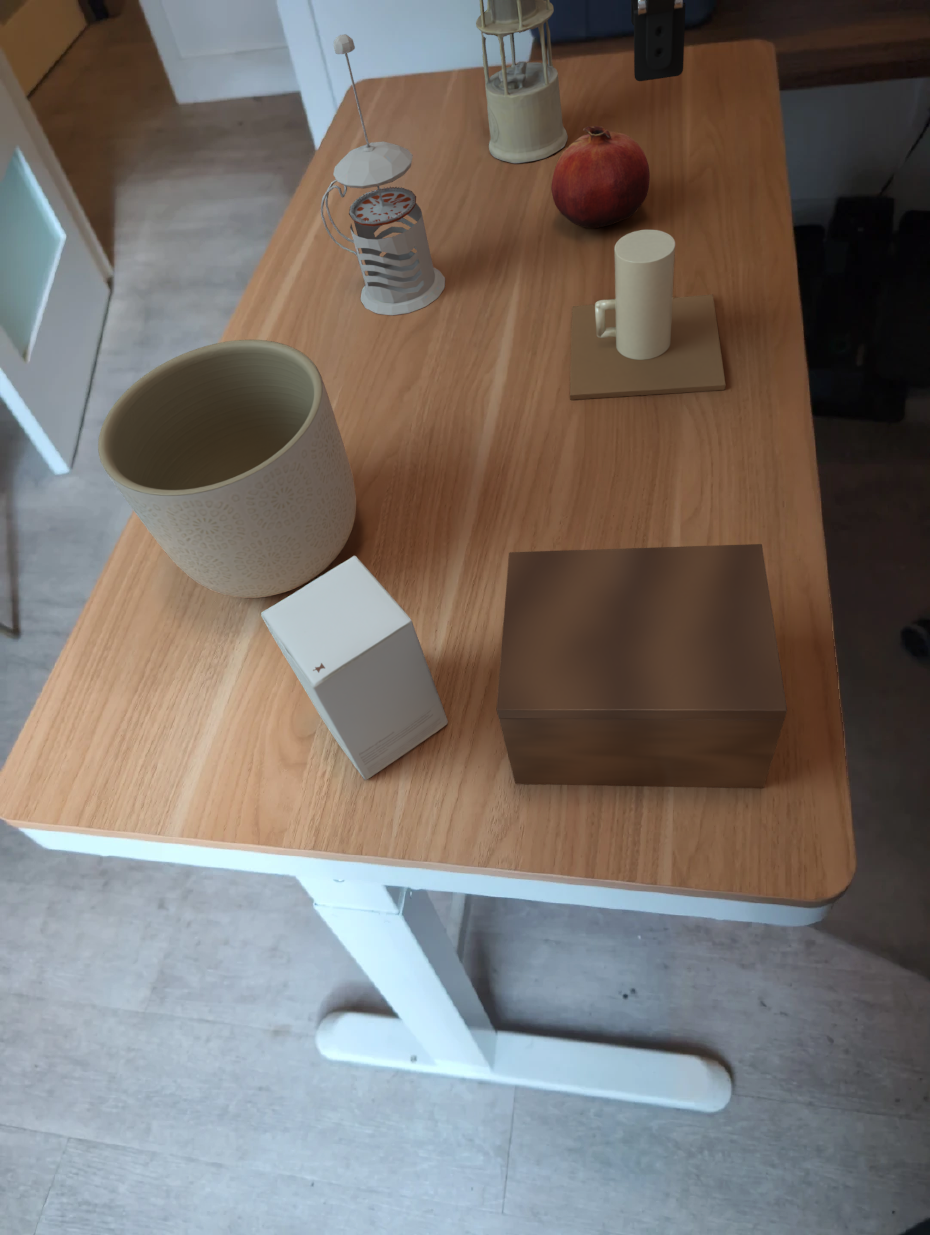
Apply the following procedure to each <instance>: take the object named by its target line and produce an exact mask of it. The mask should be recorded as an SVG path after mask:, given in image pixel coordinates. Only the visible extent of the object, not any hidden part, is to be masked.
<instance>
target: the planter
mask: <svg viewBox="0 0 930 1235" xmlns="http://www.w3.org/2000/svg"><path fill="white" fill-rule="evenodd" d="M97 441H98V442H97V452H98V457H99V461H100V463H101V466H102V468H103V470H104V472H105V473H106V475H107V476H108V477H109V479H110V480H111V482H112V483H113V485H114V487H116V489H117V491H118V492H119V493H120V494H121V496H122V498H124V500H125V501H126V503H127V504H128V506H130V508H131V509H132V510H133V512H134V513H135V514H136V516H137V518H139V520H140V521H141V522H142V524H143V525H144V527H145V528H146V529H147V531H148V532H149V534H150V535H151V536H152V538H153V539H154V540H155V541H156V543H157V544H158V545H159V546H160V548H161V549H162V550H163V551H164V553H165V554H166V555H167V556H168V557H169V559H170V560H171V561H172V562H173V563H174V564H175V565H176V566H177V567H178V568H179V569H180V570H181V571H182V572H183V573H184V574H185V575H187V576H188V577H189V578H190V579H191V580H193V581H194V582H195V583H197V584H199V585H200V586H201V587H204V588H205V589H207V590H211V591H212V592H215V593H218V594H220V595H224V596H230V597H234V598H240V599H241V598H245V599H253V598H254V599H257V598H266V597H272V596H276V595H280V594H283V593H286V592H289V591H292V590H294V589H297V588H299V587H300V586H303V585H305V584H306V583H308V582H309V581H310V582H311V580H314V579H315V578H316V577H318V575H320V574H321V573H322V572H324V571H325V570H326V569H327V568H328V567H329V566H330V565H331V564H332V563H333V562H334V561H335V559H336V558H337V557H338V556H339V555H340V553H341V552H342V550H343V549H344V547H345V546H346V543H347V541H349V538H350V536H351V534H352V530H353V527H354V523H355V520H356V511H357V495H356V494H357V493H356V488H355V487H356V486H355V482H354V476H353V475H354V474H353V471H352V467H351V464H350V460H349V456H348V454H347V453H348V452H347V450H346V446H345V443H344V440H343V436H342V434H341V431H340V428H339V426H338V422H337V419H336V416H335V413H334V409H333V406H332V403H331V400H330V397H329V393H328V391H327V388H326V384H325V382H324V380H323V377H322V375H321V372H320V370H319V369H318V367H317V366H316V364H315V363H314V361H313V360H312V359H311V358H310V357H309V356H307V354H305V353H304V352H302V351H300V350H299V349H297V348H295V347H293V346H290V345H288V344H284V343H282V342H279V341H278V342H277V341H274V340H273V341H272V340H265V339H237V340H236V339H235V340H228V341H222V342H217V343H212V344H208V345H204V346H201V347H197V348H194V349H191V350H189V351H186V352H184V353H182V354H180V355H178V356H175V357H173V358H171V359H169V360H167V361H165V362H163V363H161V364H160V365H158V366H156V367H154V368H153V369H152V370H150V371H148V372H147V373H146V374H144V375H143V376H142V377H140V378H139V379H138V380H136V381H135V382H134V383H133V384H132V385H130V387H128V388H127V390H125V392H124V393H122V395H121V396H120V397H119V398H118V399H117V400H116V401H115V403H114V404H113V406H112V407H111V408H110V410H109V411H108V413H107V415H106V416H105V419H104V421H103V423H102V425H101V427H100V431H99V435H98V440H97Z"/></svg>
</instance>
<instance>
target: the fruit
mask: <svg viewBox="0 0 930 1235" xmlns="http://www.w3.org/2000/svg"><path fill="white" fill-rule="evenodd" d="M582 131H584V132H586V133H588V134H583V135H581V136H580V137H578V138H577V139H575V140H574V141H573V142H572V143H570V144H569V145H568V146H567V147H566V148H565V149H564V150H563V152H561V154H560V155H559V158H558V159H557V162H556V165H555V167H554V169H553V170H554V171H553V174H552V178H551V179H552V180H551V186H550V191H551V194H552V199H553V202H554V206H555V207H556V209H557V210H558V212H559V213H560V214H561V215H562V216H564V217H565V218H566V219H567V220H569V221H570V222H571V223H572V224H575V225H577V226H581V227H584V228H590V229H591V228H592V229H597V228H602V227H606V226H611V225H614V224H616V223H618V222H620V221H623V220H626V219H628V218H631V217H632V216H634V214H635V213H637V211H638V210H639V209H640V207H641V206H642V204H643V203H644V202H645V201H646V199H647V197H648V193H649V189H650V182H651V181H650V180H651V174H650V166H649V161H648V159H647V156H646V153H645V152H644V150H643V149H642V147H641V146H640V144H639V143H638V142H637V141H636V140H634V139H633V138H632V137H631V136H629V135H628V134H626V133H622V132H617V131H609V130H608V129H606V128H604V127H603V126H599V125H593V126H589V125H588V126H586V127H584V128H583V130H582Z"/></svg>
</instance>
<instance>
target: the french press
mask: <svg viewBox="0 0 930 1235" xmlns="http://www.w3.org/2000/svg"><path fill="white" fill-rule="evenodd" d="M354 42H355V41H354V39H353V38H352V37H351V36H350V35H348V34H347V33H345V34H339V35H338V36H336V37H335V39H334V40H333V44H332V46H333V51H334V53H335V54H336V55H344V56H345V60H346V64H347V69H348V72H349V76H350V80H351V85H352V88H353V94H354V97H355V102H356V105H357V111H358V114H359V117H360V122H361V126H362V130H363V134H364V139H365V142H366V144H363V145H361V146H358V147H356V148H354V149H351V150H350V151H349V152H348V153H346V155H344V157H343V158H342V159H341V160H340V161H339V162H338V163H337V164H335V166H334V168H333V174H332V175H333V177H334V178H335V179H334V180H332V181H331V183H330V184H329V185H328V188H327V189H326V191H325V193H324V194H323V196H322V198H321V202H320V203H321V204H320V217H321V220H322V222H323V225H324V229H325V231H326V232H327V234H328V236H329V237H330V238H331V239H332V241H333V242H334V243H335V244H336V245H338V246H339V247H340V248H341V249H342V250H344V251H347V252H350V253H351V254H354V255H355V256H356V258H357V261H358V266H359V268H360V271H361V276H362V278H363V282H364V286H363V288H362V289H361V291H360V292H361V294H360V302H361V303H362V305H363V306H364V308H365V309H366V310H368V311H370V312H373V313H375V314H377V315H386V316H396V315H405V314H410V313H412V312H416V311H419V310H420V309H424V308H425V307H428V306H429V305H430V304H432V303H433V302H434V301H436V300H437V299H438V298H439V297H440V295H441V294H442V293H443V291H444V289H445V288H446V286H445V285H446V277H445V276H444V275H443V273H442V272H441V270H439V269H438V268H436V267H434V264H433V259H432V254H431V251H430V250H431V249H430V245H429V240H428V236H427V231H426V226H425V221H424V216H423V212H422V209H421V207H420V206H419V204H418V203H417V196H416V194H415V193H414V192H413V191H412V190H411V189H407V188H405V187H402V186H398V187H397V186H389V187H388V186H386V187H383V188H382V187H381V186H384V185H387V184H391V183H393V182H395V181H396V180H398V179H400V178H401V177H403V176H405V175H406V173H407V172H408V171H409V170H410V169H411V167H412V162H413V158H414V157H413V156H414V155H413V154H412V153H411V151H410V150H409V148H406V147H404V146H401V145H399V144H396V143H391V142H388V141H373V142H369V139H368V135H367V130H366V125H365V122H364V118H363V114H362V108H361V104H360V101H359V97H358V96H359V95H358V92H357V89H356V84H355V80H354V77H353V72H352V68H351V63H350V59H349V55H348V54H349V53H351V52H353V51H354V50H355V49H356V46H355V43H354ZM336 183H339V184H340V185H342V186H343V187H344V190H343V191H342V188H341V187H340V186H339V185H335V184H336ZM376 187H377V188H376ZM348 188H349V189H370V188H376V189H374V190H371V191H368V192H365V193H363V194H362V195H360V196H358V198H356V199H355V200H354V201H352V203H351V205H349V209H348V215H349V217H350V218H351V220H352V221H353V224H354V227H355V231H356V234H355V232H354V229H353V228H354V227H353V224H352V223H350V225H349V230H350V234H351V237H352V239H351V238H349V237H348V236H346V235H345V234H344V233H342V232H341V230H340V229H339V228H338V226H336V223H335V222H334V220H333V218H332V215H331V212H330V207H329V194H330V192H331V191H332V190H334V189H337V191H338V193H339V196H340V197H341V198H345V197H346V194H347V191H348ZM324 206H325V209H326V212H327V217H328V219H329V221H330V223H331V224H332V226H333V228H334V229H335V231H336V232H337V233H338V235H339V236H341V237H342V238H343V239H344V240H346V241H347V242H350V243H352V244H354V248H355V250H356V251H354V250H352V249H350V248H348V247H346V246H345V245H343V244H342V243H341V242H338V241H337V239H336V238H335V237H334V236H333V234H332V233H331V231H330V229H329V227H328V225H327V222H326V218H325V216H324ZM406 216H408V217H409V218H411V219H413V220H414V221H415V223H413V222H411V221H409V220H408V219H406V218H405V217H406ZM393 223H401V224H404V225H406V226H407V227H409V228H408V229H407V228H405V227H403V226H390V227H387V228H386V229H384V230H382V231H380V233H378V234H377V235H376V236H375V233H376V232H377V231H378V230H379V229H380V227H382V226H386V225H391V224H393ZM391 234H396V235H393V236H389V235H391ZM387 236H388V237H387ZM413 250H416V252H414V251H413ZM360 251H361V252H360ZM382 253H385V254H384V255H383V256H381V254H382ZM363 262H364V264H363ZM366 272H367V274H366Z"/></svg>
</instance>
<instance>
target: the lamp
mask: <svg viewBox="0 0 930 1235" xmlns="http://www.w3.org/2000/svg"><path fill="white" fill-rule="evenodd" d="M486 3H487V4H486V10H485V6H484V5H485V4H484V0H479V10H480V15H479V16H478V17H477V19H476V21H475V27H476V28H477V30H479V31H480V34H481V50H482V65H483V73H484V82H485V85H484V86H485V96H486V104H487V106H486V110H487V119H488V128H489V137H490V139H489V142H488V150H489V153H490V155H491V156H492V157H493V158H494V159H497V160H500V161H502V162H508V163H511V164H522V163H529V162H535V161H539V160H543V159H547V158H548V157H550V156H552V155H553V154H554V155H555V153H557V152H559V151H561V149H563V148H564V147H566V144H567V142H568V138H569V137H568V132H567V130H566V128H565V127H564V124H563V113H562V104H561V91H560V81H559V72H558V70H557V68H555V67H554V65H553V54H552V52H553V51H552V43H551V30H550V26H549V19H550V18H551V17H552V15H553V14H554V12H555V11H554V5H553V3H552V2H550V0H487V2H486ZM544 25H545V27H544ZM537 28H538V34H539V42H540V47H541V48H540V50H541V59H542V62H538V61H536V62H535V61H534V62H526V61H518V62H517V63H516V46H515V34H516V33H519V34H521V33H524V32H528V31H529V30H534V29H537ZM544 28H545V30H544ZM545 31H546V42H545ZM485 35H488V36H494V37H496V38H497V41H498V43H499V55H500V61H501V69H500V70H498V71H497V72H495V73H493V74H492V75H491V76H490V74H489V61H488V60H489V59H488V53H487V52H488V51H487V45H486V44H487V43H486V40H487V37H485ZM507 36H509V43H510V52H511V54H510V55H511V65H510V66H508V67H507V63H506V62H507V61H506V60H507V58H506V57H507V56H506V50H505V41H504V38H505V37H507Z"/></svg>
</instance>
